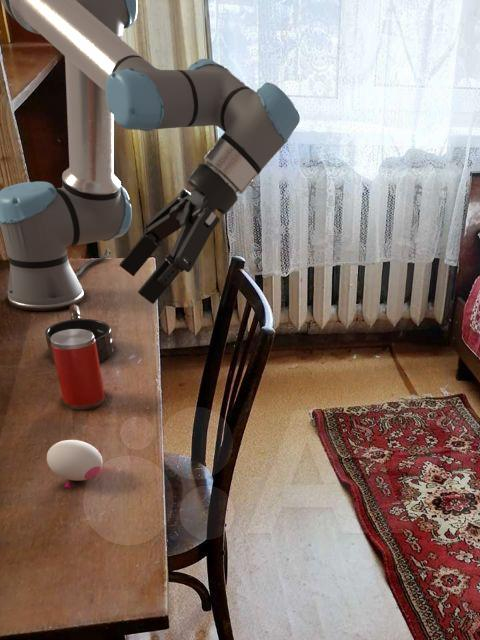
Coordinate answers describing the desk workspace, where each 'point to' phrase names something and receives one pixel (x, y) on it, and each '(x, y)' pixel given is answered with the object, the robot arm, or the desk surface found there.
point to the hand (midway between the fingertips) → (135, 284)
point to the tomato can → (78, 368)
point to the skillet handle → (74, 312)
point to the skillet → (96, 327)
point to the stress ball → (74, 460)
